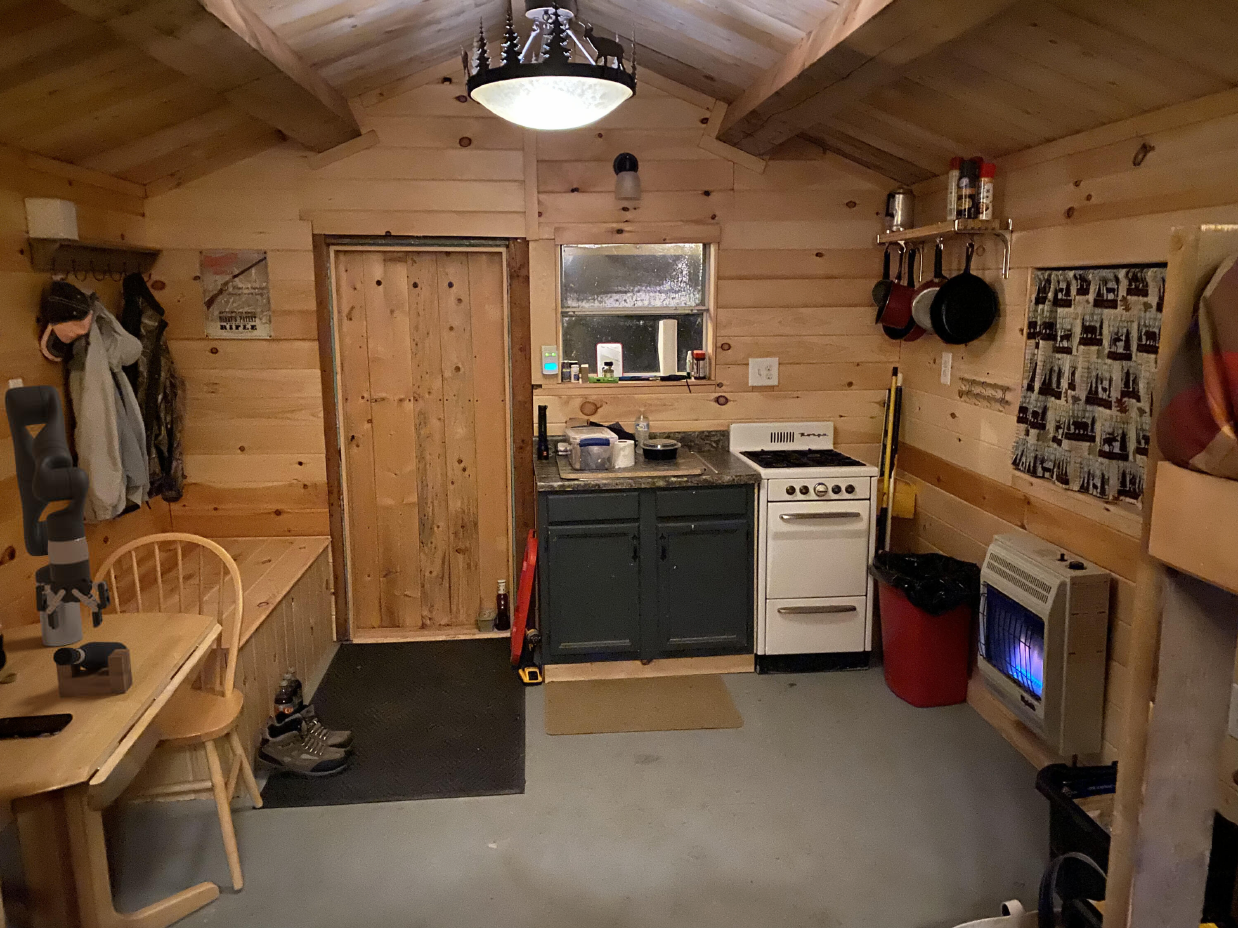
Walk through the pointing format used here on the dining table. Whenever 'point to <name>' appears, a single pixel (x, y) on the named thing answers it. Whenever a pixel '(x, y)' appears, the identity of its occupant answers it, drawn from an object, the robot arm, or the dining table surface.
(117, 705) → the dining table surface
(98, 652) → the black bottle
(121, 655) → the walnut U-rest
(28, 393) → the robot arm
